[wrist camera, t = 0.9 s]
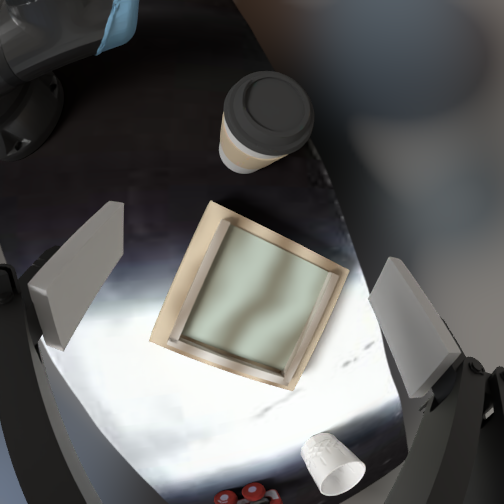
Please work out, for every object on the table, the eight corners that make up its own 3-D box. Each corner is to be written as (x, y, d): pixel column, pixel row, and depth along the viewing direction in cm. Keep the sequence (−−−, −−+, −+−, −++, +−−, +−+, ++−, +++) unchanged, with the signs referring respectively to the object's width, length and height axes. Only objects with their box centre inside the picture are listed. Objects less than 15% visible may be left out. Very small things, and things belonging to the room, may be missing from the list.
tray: (152, 331, 37) (147, 345, 31) (207, 204, 38) (212, 198, 33) (283, 379, 41) (296, 395, 36) (335, 267, 42) (355, 271, 37)
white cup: (325, 463, 44) (349, 494, 34) (289, 460, 42) (311, 496, 32) (345, 431, 44) (374, 460, 35) (309, 427, 43) (336, 461, 33)
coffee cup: (282, 131, 40) (330, 83, 25) (268, 189, 40) (315, 162, 25) (221, 111, 38) (242, 50, 23) (202, 171, 38) (215, 129, 23)
